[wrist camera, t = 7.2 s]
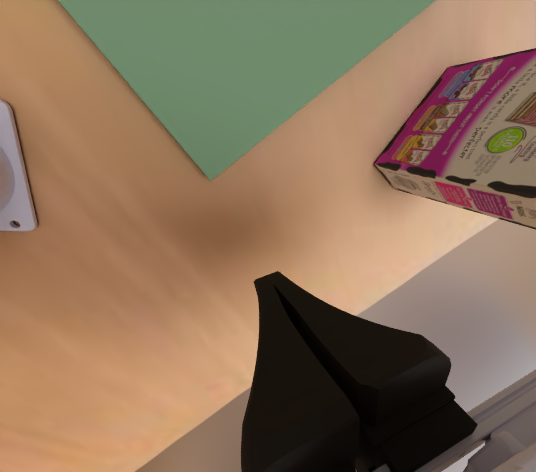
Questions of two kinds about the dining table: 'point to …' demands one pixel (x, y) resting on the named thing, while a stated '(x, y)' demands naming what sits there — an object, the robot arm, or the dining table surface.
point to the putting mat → (234, 60)
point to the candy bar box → (473, 140)
